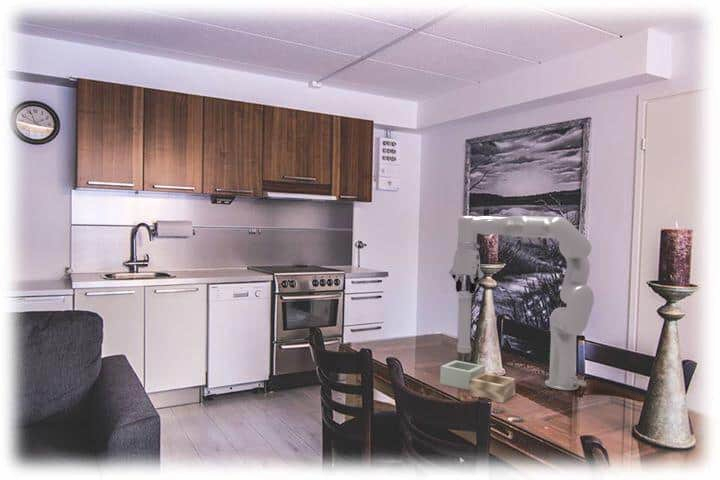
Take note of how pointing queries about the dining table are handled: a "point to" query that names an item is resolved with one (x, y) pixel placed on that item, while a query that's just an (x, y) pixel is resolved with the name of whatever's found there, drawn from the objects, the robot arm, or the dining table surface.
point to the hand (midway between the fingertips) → (465, 291)
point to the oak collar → (492, 387)
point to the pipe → (464, 321)
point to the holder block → (459, 373)
